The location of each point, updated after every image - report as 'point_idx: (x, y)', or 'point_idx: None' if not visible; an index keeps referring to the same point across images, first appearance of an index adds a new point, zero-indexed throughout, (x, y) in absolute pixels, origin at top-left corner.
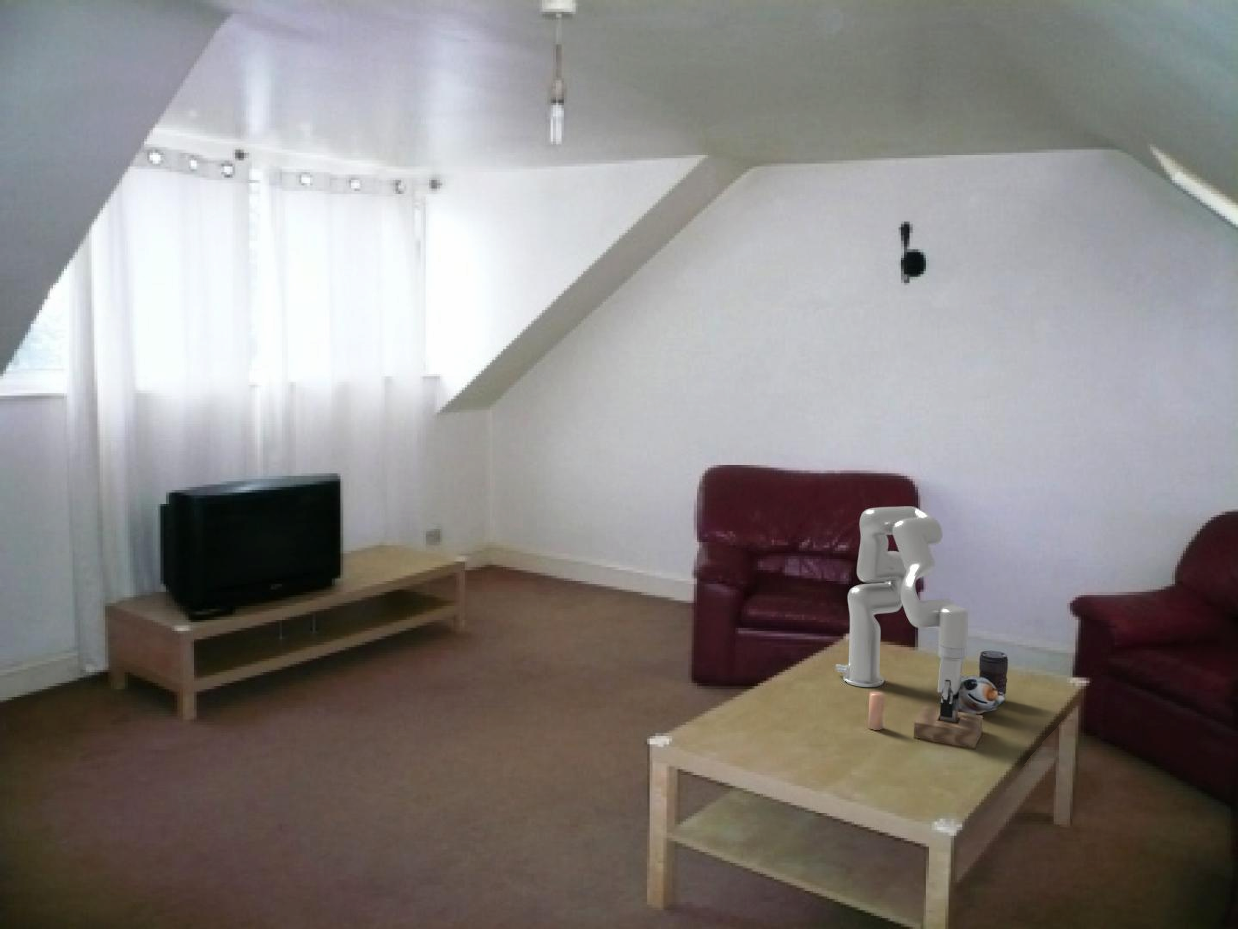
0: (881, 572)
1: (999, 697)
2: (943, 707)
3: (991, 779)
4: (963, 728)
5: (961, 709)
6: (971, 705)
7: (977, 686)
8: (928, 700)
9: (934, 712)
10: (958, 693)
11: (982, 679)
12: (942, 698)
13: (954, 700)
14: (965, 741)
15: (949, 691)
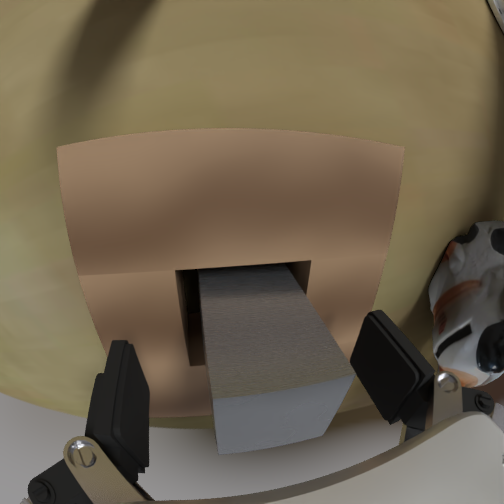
0: None
1: None
2: (90, 415)
3: (17, 397)
4: (151, 389)
5: (448, 265)
6: (446, 308)
7: (479, 370)
8: (494, 153)
9: (324, 222)
10: (389, 421)
11: (497, 377)
12: (30, 485)
13: (283, 438)
14: None
15: (420, 387)
